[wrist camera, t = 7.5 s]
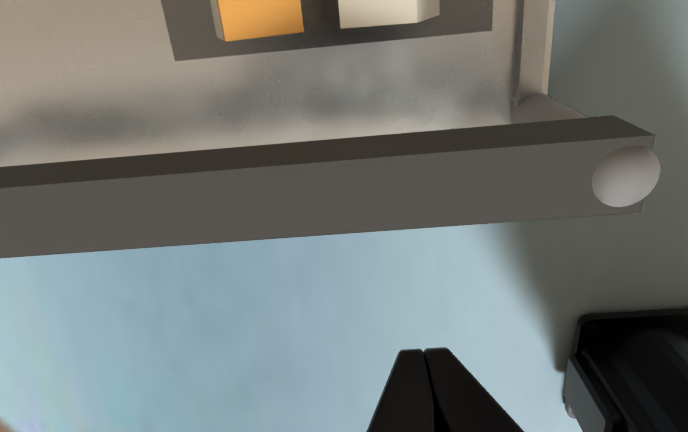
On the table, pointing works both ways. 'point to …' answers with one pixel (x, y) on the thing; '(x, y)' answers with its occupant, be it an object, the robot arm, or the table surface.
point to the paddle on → (385, 12)
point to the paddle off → (256, 18)
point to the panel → (253, 76)
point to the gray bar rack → (333, 185)
